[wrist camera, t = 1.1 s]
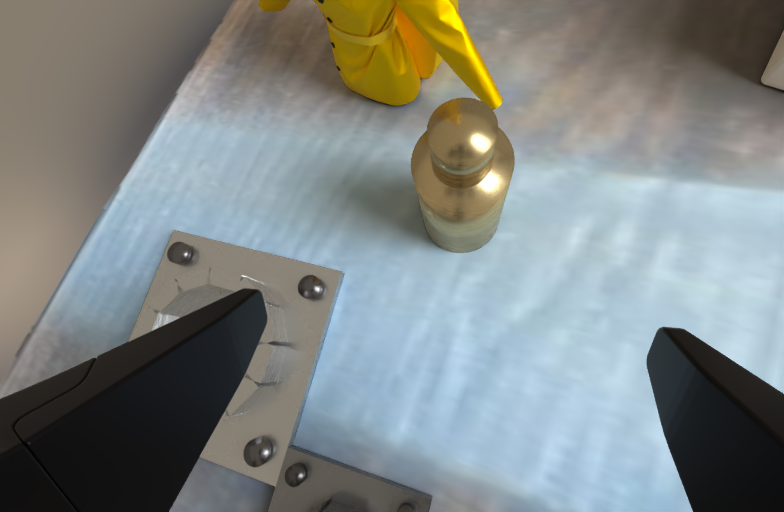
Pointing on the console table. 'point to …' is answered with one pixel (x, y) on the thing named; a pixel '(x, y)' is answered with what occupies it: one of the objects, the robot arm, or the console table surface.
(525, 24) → the console table surface
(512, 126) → the console table surface
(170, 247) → the flange large
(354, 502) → the flange small
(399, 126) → the console table surface
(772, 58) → the medicine bottle
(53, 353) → the console table surface
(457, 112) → the gold metal cylinder
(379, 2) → the yellow tall sculpted piece
